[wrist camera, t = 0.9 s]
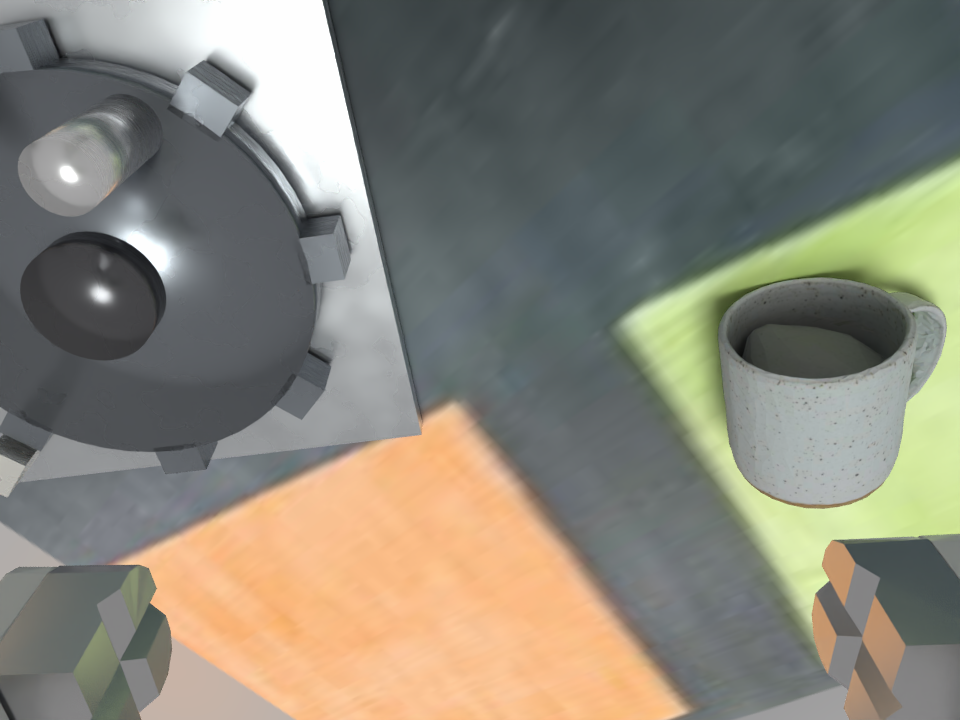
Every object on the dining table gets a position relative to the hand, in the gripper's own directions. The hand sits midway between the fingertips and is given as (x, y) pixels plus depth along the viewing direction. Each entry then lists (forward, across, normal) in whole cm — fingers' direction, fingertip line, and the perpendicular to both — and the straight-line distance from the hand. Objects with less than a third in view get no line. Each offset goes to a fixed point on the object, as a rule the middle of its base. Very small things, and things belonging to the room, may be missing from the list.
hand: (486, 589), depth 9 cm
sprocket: (+24, +16, +5) cm, 29 cm away
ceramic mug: (+26, -15, +11) cm, 32 cm away
